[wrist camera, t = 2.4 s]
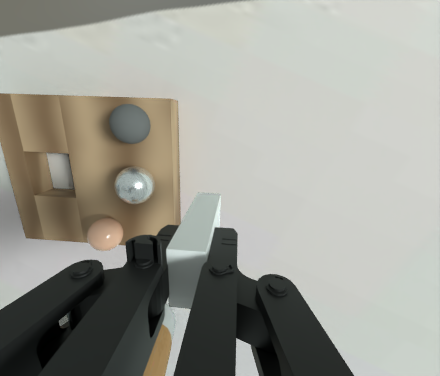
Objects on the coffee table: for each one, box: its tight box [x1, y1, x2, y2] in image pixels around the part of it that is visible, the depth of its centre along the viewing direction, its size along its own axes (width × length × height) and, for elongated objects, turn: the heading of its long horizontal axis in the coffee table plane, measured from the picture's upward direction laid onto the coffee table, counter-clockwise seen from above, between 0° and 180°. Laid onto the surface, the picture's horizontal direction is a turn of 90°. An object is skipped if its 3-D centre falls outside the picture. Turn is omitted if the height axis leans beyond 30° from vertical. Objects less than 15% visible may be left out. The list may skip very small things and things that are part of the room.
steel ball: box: [114, 166, 155, 204], centre depth 20 cm, size 3×3×3 cm
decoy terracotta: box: [87, 218, 123, 251], centre depth 22 cm, size 3×3×3 cm
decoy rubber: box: [109, 104, 151, 144], centre depth 18 cm, size 3×3×3 cm
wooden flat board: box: [0, 94, 181, 245], centre depth 23 cm, size 17×15×2 cm
